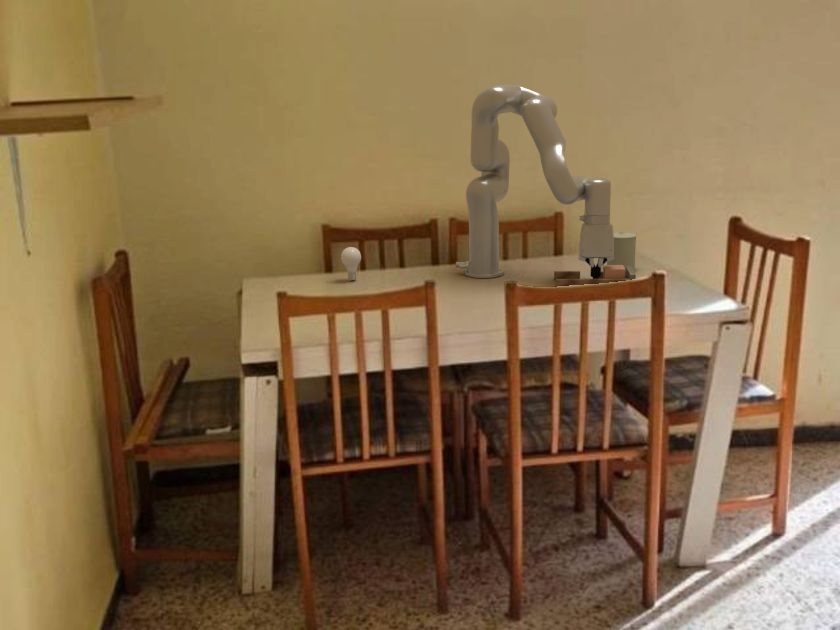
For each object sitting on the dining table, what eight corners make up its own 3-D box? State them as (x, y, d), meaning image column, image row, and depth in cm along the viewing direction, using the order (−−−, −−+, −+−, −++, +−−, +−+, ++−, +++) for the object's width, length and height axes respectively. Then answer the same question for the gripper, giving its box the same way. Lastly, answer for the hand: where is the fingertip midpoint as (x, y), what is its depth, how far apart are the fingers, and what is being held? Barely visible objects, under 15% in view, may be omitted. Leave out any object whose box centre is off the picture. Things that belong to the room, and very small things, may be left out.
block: (604, 285, 270) (604, 269, 269) (602, 280, 276) (603, 265, 275) (624, 285, 270) (625, 269, 268) (622, 280, 275) (623, 265, 274)
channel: (555, 288, 269) (555, 275, 268) (553, 278, 280) (554, 266, 279) (635, 287, 267) (635, 274, 265) (630, 278, 278) (630, 265, 277)
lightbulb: (358, 283, 282) (357, 249, 279) (339, 282, 284) (337, 248, 281) (364, 278, 288) (363, 245, 285) (345, 278, 290) (344, 244, 287)
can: (633, 266, 294) (634, 230, 290) (637, 273, 285) (638, 235, 281) (604, 266, 295) (605, 230, 291) (607, 273, 286) (608, 236, 282)
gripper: (572, 222, 265) (571, 282, 270) (623, 221, 264) (621, 281, 269) (571, 217, 272) (570, 276, 277) (620, 217, 271) (619, 276, 276)
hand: (595, 278), depth 273 cm, fingers closed
